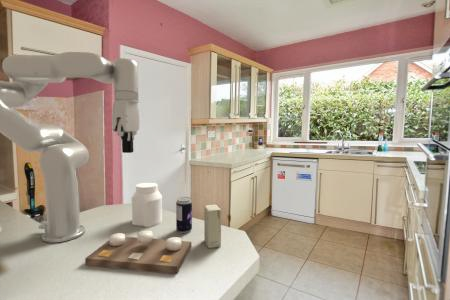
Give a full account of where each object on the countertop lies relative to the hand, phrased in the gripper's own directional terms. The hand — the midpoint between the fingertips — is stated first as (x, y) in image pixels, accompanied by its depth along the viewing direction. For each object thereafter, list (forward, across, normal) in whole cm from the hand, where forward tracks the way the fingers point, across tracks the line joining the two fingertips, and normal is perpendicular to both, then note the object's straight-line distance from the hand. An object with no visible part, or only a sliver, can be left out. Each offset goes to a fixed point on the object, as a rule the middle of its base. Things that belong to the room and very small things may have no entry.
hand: (127, 152), depth 84 cm
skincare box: (+29, +2, +30) cm, 42 cm away
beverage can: (+29, -6, +18) cm, 35 cm away
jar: (+29, -12, +1) cm, 32 cm away
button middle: (+25, +11, +11) cm, 30 cm away
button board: (+29, +13, +11) cm, 34 cm away
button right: (+27, +11, +20) cm, 35 cm away
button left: (+27, +11, +2) cm, 29 cm away
